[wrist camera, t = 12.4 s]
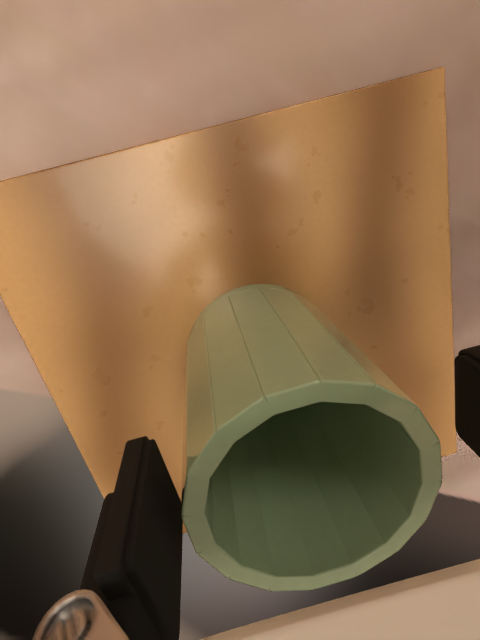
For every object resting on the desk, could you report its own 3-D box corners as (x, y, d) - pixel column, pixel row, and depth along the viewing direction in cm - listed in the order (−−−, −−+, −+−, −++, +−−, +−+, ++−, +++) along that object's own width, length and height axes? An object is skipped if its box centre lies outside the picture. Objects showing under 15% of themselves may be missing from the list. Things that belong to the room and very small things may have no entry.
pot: (315, 265, 17) (437, 347, 9) (336, 392, 20) (447, 550, 11) (166, 306, 17) (144, 430, 8) (207, 429, 19) (223, 618, 11)
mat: (435, 70, 15) (445, 66, 15) (450, 446, 23) (457, 452, 22) (-43, 194, 15) (-52, 194, 14) (130, 540, 22) (129, 549, 22)
